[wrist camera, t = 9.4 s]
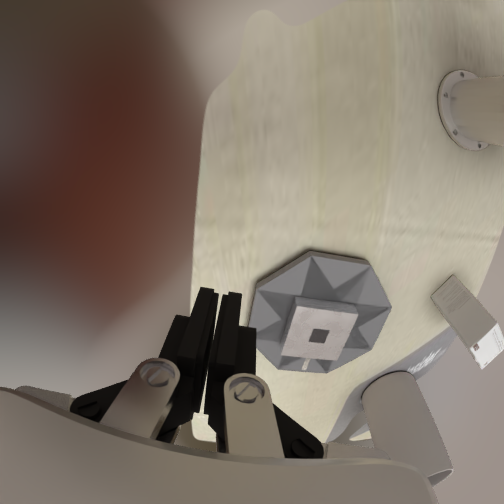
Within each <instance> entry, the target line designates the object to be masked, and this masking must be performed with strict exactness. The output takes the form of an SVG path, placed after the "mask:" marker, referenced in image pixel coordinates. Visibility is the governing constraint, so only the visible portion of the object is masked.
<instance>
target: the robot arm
mask: <svg viewBox="0 0 504 504" xmlns="http://www.w3.org/2000/svg"><path fill="white" fill-rule="evenodd" d="M438 105H439V112H440V116H441V120H442V122H443V125H444V127H445V129H446V131H447V132H448V134H449V135H450V137H451V138H452V139H453V140H454V141H455V142H456V143H457V144H458V145H459V146H461V147H462V148H465V149H467V150H472V151H479V150H482V149H484V148H486V147H487V146H488V145H489V144H494V145H499V146H504V76H494V77H484V78H479V77H478V76H476V75H475V74H473V73H471V72H469V71H466V70H457V71H453V72H451V73H449V74H448V75H447V76H445V78H444V79H443V81H442V82H441V85H440V88H439V94H438ZM218 296H219V293H214V289H211V288H205V287H200V290H199V293H198V296H197V298H196V301H195V304H194V307H193V310H192V313H191V316H190V317H187V316H181V315H176V316H175V318H174V320H173V323H172V325H171V328H170V330H169V332H168V335H167V337H166V340H165V342H164V345H163V347H162V350H161V352H160V355H159V357H158V358H150V359H146V360H145V361H143V362H141V363H140V364H139V365H138V366H137V368H136V369H135V371H134V372H133V373H132V375H131V376H130V378H129V379H128V380H126V381H123V382H120V383H117V384H114V385H111V386H109V387H105V388H102V389H100V390H96V391H93V392H90V393H87V394H84V395H81V396H80V397H77V398H72V396H71V395H69V394H64V393H59V392H54V391H49V390H44V389H40V388H35V387H31V386H21V387H18V388H17V389H15V390H14V389H11V388H6V387H0V504H439V503H438V500H437V497H436V494H435V492H434V490H433V487H432V485H431V483H430V481H429V480H428V478H427V477H426V475H425V474H424V473H423V472H422V471H421V470H420V469H418V468H417V467H415V466H412V465H410V464H407V463H404V462H399V461H395V460H391V458H390V457H389V455H388V454H387V453H386V452H385V451H383V450H381V449H377V448H369V447H361V446H354V445H346V444H340V443H335V442H328V444H325V443H321V442H320V441H319V440H318V439H317V438H316V437H315V436H313V435H312V434H311V433H309V432H308V431H307V430H306V429H304V428H303V427H302V426H300V425H299V424H298V423H297V422H295V421H294V420H293V419H292V418H290V417H289V416H288V415H287V414H285V413H284V412H283V411H282V410H280V409H279V408H278V407H277V406H276V405H274V404H273V403H272V399H271V394H270V390H269V387H268V385H267V384H266V382H265V381H264V380H263V379H261V378H260V377H258V376H256V336H257V329H256V328H252V327H245V326H239V318H240V309H241V299H242V294H241V293H235V292H229V293H228V295H225V294H223V296H222V301H221V305H220V310H219V315H218V320H217V324H216V329H215V334H214V328H215V320H216V312H217V304H218ZM213 337H214V339H213ZM207 371H208V374H207ZM206 376H207V384H206V394H205V405H204V414H207V415H209V418H208V425H209V426H210V427H211V428H212V429H213V430H214V431H215V432H216V448H217V452H212V451H205V450H200V449H194V448H188V447H184V446H179V445H174V442H175V440H176V438H177V435H178V433H179V431H180V427H181V425H182V424H184V423H186V422H188V421H190V419H191V420H192V419H193V414H194V412H196V413H199V412H200V407H201V401H202V396H203V391H204V386H205V381H206Z"/></svg>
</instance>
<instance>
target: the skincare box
mask: <svg viewBox="0 0 504 504" xmlns="http://www.w3.org/2000/svg"><path fill="white" fill-rule="evenodd" d="M431 298H432V300H433V302H434V303H435V305H436V306H437V308H438V309H439V311H440V312H441V314H442V315H443V316H444V318H445V319H446V320H447V322H448V323H449V324H450V326H451V327H452V329H453V330H454V331H455V333H456V334H457V335H458V337H459V338H460V339H461V341H462V342H463V344H464V345H465V346H466V348H467V349H468V351H469V352H470V354H471V355H472V357H473V358H474V360H475V361H476V363H477V364H478V366H479V367H480V369H483V368H484V367H485V366H486V365H487V364H488V363H490V362H491V361H492V360H493V359H494V358H495V357H496V356H497V355H498V354H499V353H500V352H501V351H502V350H503V349H504V337H503V334H502V332H501V329H500V327H499V324H498V322H497V321H496V320H495V319H494V318H493V317H492V316H491V314H490V313H488V311H487V310H486V309H485V308H484V307H483V305H482V304H481V303H480V302H479V301H478V300H477V299H476V298H475V297H474V296H473V294H472V293H471V292H470V291H469V290H468V289H467V288H466V287H465V286H464V285H463V284H462V283H461V282H460V281H459V280H458V279H457V278H456V277H455V276H454V275H452V276H451V277H450V278H449V279H448V280H447V281H446V282H445V283H444V284H443V285H442V286H441V287H440V288H439V289H438V290H437V291H436V292H435V293H434V294H433V295H431Z"/></svg>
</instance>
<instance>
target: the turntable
mask: <svg viewBox="0 0 504 504" xmlns="http://www.w3.org/2000/svg"><path fill="white" fill-rule="evenodd" d="M295 296H299V297H305V298H312V299H319V300H325V301H332V302H339V303H347V304H354V306H355V308H356V310H357V312H358V317H357V319H356V321H355V324H354V326H353V328H352V330H351V332H350V335H349V337H348V339H347V341H346V343H345V345H344V347H343V349H342V351H341V354H340V356H339V358H338V360H337V361H336V360H323V359H312V358H302V357H293V356H284V355H281V351H280V343H281V339H282V336H283V333H284V330H285V327H286V324H287V321H288V317H289V314H290V311H291V308H292V304H293V301H294V298H295ZM391 308H392V306H391V304H390V302H389V300H388V298H387V296H386V294H385V292H384V290H383V288H382V286H381V284H380V282H379V280H378V278H377V276H376V274H375V272H374V270H373V268H372V266H371V265H370V263H369V262H368V261H366V260H361V259H355V258H349V257H343V256H338V255H332V254H326V253H320V252H314V251H309V252H307V253H306V254H304V255H302V256H301V257H299V258H298V259H296V260H294V261H293V262H291V263H290V264H288V265H286V266H285V267H283V268H281V269H280V270H278V271H277V272H275V273H273V274H272V275H270V276H268V277H267V278H265V279H263V280H262V281H260V282H259V283H257V285H256V290H255V295H254V300H253V305H252V310H251V315H250V320H249V324H248V327H252V328H256V329H257V336H256V348H257V349H258V350H259V351H260V352H261V353H262V354H263V355H264V356H265V357H266V358H267V359H268V360H269V361H270V362H271V363H272V364H273V365H274V366H275V367H276V368H277V369H278V370H289V371H300V372H314V373H328V372H330V371H332V370H334V369H336V368H338V367H340V366H342V365H344V364H346V363H348V362H350V361H352V360H354V359H356V358H357V357H359V356H361V355H363V354H365V353H366V352H368V351H370V350H372V348H373V346H374V344H375V342H376V340H377V338H378V336H379V334H380V332H381V330H382V328H383V326H384V323H385V321H386V319H387V317H388V315H389V313H390V310H391Z"/></svg>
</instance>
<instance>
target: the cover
mask: <svg viewBox="0 0 504 504" xmlns="http://www.w3.org/2000/svg"><path fill="white" fill-rule="evenodd" d="M357 317H358V312H357V310H356V308H355V306H354V304H347V303H339V302H332V301H325V300H319V299H312V298H305V297H299V296H295V298H294V301H293V304H292V308H291V311H290V314H289V317H288V321H287V324H286V327H285V330H284V333H283V336H282V339H281V343H280V351H281V355H284V356H293V357H302V358H312V359H323V360H336V361H337V360H338V358H339V356H340V354H341V351H342V349H343V347H344V345H345V343H346V341H347V339H348V337H349V335H350V332H351V330H352V328H353V326H354V324H355V321H356V319H357Z"/></svg>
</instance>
